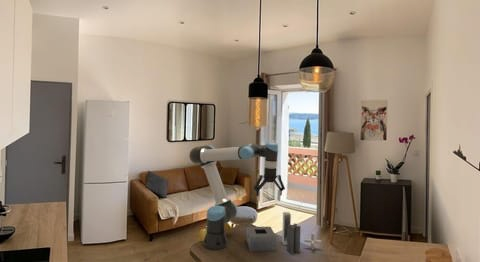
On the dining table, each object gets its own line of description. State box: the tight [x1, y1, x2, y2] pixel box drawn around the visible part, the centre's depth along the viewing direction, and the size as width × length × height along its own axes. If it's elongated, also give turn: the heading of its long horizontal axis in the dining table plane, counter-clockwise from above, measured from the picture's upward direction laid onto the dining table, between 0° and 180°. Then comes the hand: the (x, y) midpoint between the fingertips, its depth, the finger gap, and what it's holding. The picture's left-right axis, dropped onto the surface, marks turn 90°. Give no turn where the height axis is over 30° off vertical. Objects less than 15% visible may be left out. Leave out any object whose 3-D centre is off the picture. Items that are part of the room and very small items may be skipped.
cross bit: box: [286, 223, 302, 255], centre depth 181 cm, size 8×8×16 cm
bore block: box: [246, 226, 277, 252], centre depth 188 cm, size 16×16×9 cm
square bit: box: [281, 211, 292, 246], centre depth 191 cm, size 4×4×20 cm
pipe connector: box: [304, 232, 322, 250], centre depth 184 cm, size 10×10×10 cm
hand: (268, 200), depth 185 cm, fingers open, 13 cm apart
